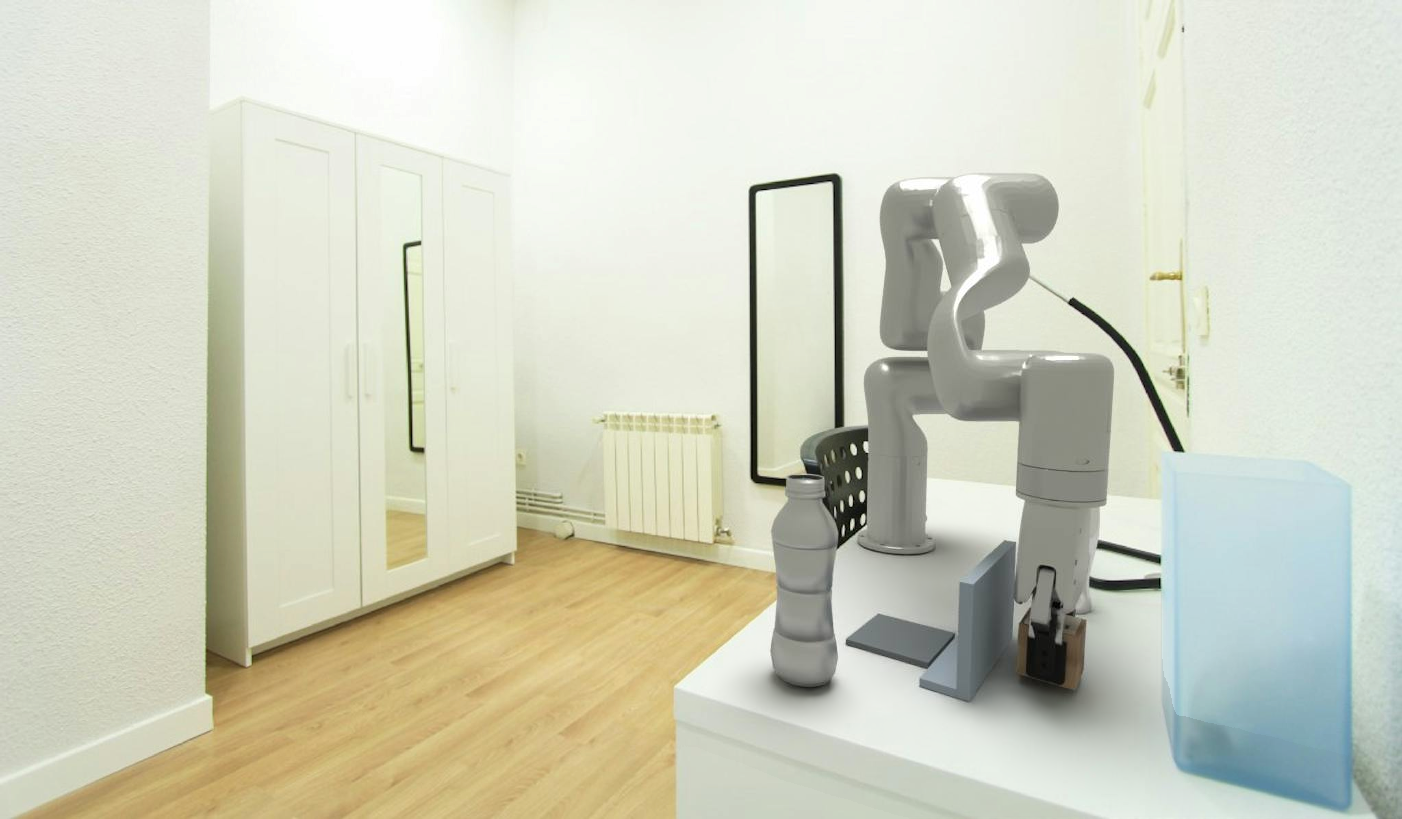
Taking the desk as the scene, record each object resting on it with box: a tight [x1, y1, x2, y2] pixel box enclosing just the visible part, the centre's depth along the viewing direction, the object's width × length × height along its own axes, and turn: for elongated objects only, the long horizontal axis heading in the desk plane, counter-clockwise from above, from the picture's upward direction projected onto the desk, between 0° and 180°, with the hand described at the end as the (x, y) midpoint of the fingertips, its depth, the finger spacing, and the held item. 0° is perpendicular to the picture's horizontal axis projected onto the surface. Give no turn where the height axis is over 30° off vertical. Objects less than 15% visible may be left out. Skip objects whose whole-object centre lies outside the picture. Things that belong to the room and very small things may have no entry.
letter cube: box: [1016, 606, 1087, 691], centre depth 62 cm, size 5×5×5 cm
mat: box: [845, 613, 956, 669], centre depth 71 cm, size 9×9×1 cm
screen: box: [918, 540, 1017, 703], centre depth 66 cm, size 17×5×11 cm, turn 142°
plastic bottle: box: [769, 473, 839, 688], centre depth 62 cm, size 6×7×20 cm
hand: (1050, 665), depth 62 cm, fingers closed on letter cube, 5 cm apart
